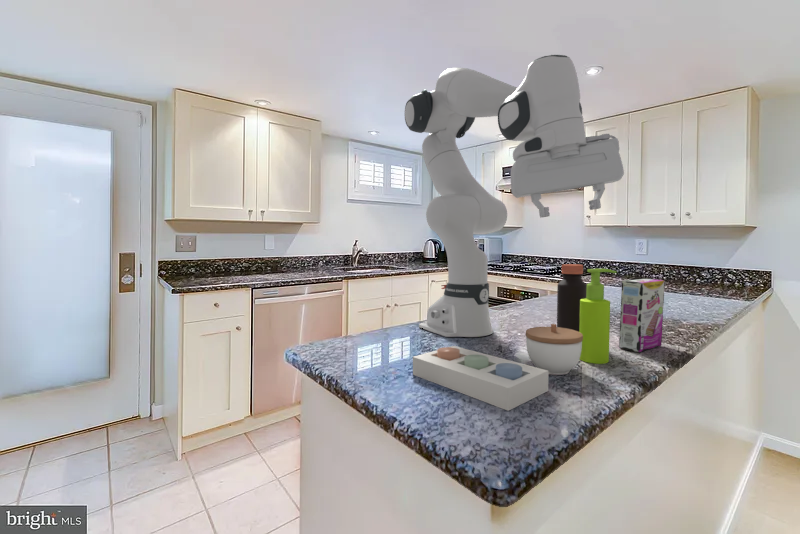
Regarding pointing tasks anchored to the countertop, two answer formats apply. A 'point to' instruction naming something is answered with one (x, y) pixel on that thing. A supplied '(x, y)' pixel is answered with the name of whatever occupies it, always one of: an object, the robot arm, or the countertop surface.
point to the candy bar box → (641, 314)
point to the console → (482, 378)
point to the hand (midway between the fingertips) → (569, 213)
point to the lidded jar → (554, 348)
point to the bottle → (570, 296)
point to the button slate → (509, 371)
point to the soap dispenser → (595, 321)
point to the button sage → (476, 361)
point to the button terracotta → (448, 353)
